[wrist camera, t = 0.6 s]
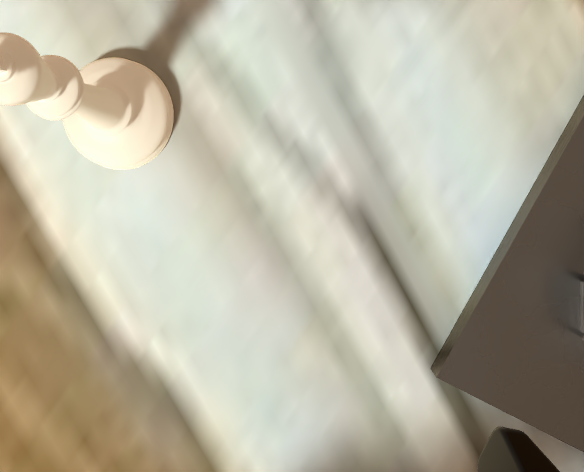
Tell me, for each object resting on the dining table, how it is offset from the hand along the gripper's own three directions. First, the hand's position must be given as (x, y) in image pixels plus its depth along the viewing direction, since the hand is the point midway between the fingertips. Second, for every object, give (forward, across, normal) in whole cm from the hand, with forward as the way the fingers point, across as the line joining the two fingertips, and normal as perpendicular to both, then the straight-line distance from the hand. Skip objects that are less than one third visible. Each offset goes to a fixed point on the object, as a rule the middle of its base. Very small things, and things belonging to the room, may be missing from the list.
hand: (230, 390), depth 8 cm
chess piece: (+15, +8, 0) cm, 17 cm away
